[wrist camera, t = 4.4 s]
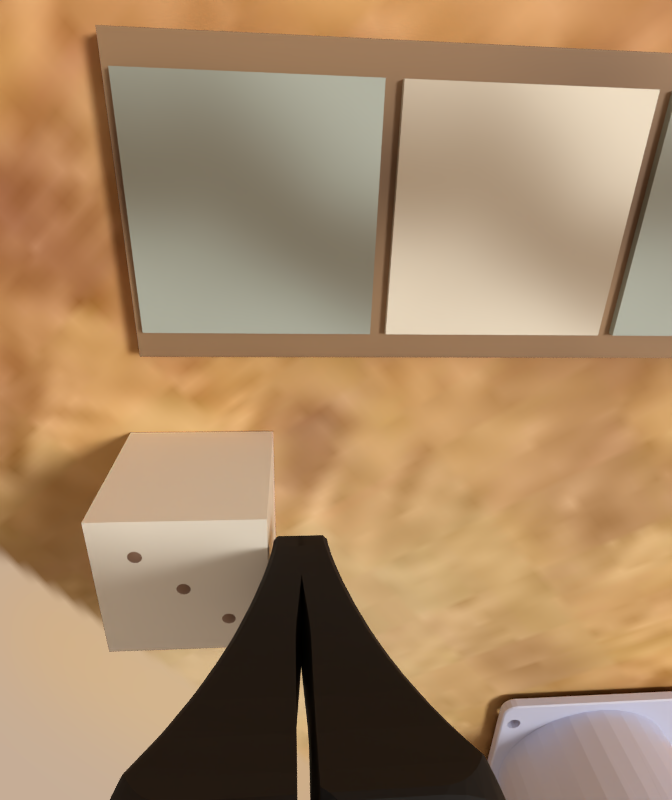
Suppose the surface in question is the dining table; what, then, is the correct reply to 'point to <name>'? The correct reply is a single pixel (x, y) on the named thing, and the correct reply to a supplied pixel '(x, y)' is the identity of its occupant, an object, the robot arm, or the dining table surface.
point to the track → (390, 196)
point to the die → (181, 537)
